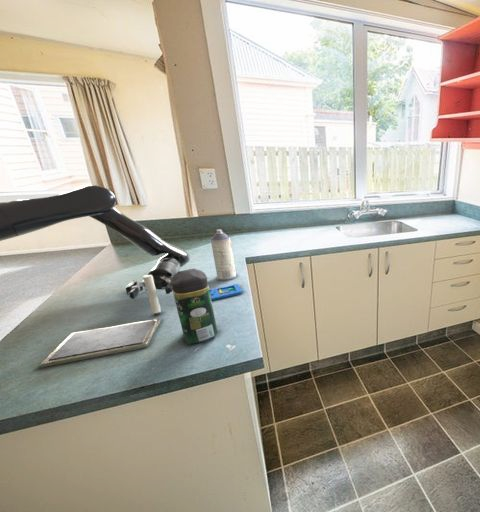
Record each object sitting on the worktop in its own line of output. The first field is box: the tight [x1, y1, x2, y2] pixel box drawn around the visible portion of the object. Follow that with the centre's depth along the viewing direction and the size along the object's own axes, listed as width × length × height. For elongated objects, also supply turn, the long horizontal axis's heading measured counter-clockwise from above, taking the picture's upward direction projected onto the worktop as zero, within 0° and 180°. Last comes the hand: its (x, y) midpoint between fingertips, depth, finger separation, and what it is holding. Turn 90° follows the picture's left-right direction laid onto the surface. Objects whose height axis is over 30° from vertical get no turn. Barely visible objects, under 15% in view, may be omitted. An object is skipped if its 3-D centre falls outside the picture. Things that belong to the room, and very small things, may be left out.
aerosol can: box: [210, 229, 237, 282], centre depth 118 cm, size 7×7×20 cm
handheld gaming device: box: [209, 283, 243, 301], centre depth 106 cm, size 8×1×15 cm
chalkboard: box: [40, 318, 162, 368], centre depth 78 cm, size 20×14×1 cm
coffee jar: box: [171, 268, 218, 344], centre depth 79 cm, size 10×8×19 cm
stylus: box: [142, 274, 162, 317], centre depth 90 cm, size 2×2×13 cm
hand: (150, 293), depth 88 cm, fingers open, 8 cm apart
